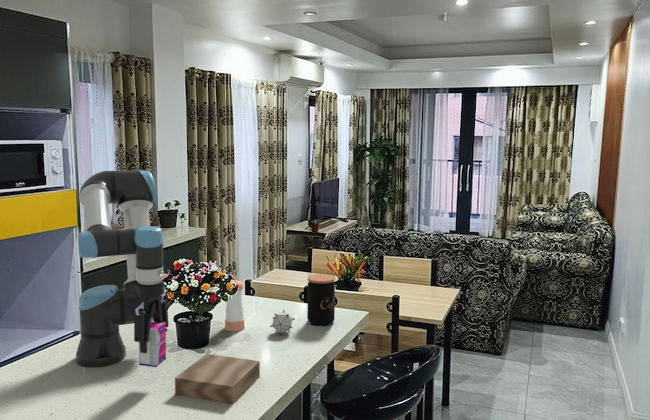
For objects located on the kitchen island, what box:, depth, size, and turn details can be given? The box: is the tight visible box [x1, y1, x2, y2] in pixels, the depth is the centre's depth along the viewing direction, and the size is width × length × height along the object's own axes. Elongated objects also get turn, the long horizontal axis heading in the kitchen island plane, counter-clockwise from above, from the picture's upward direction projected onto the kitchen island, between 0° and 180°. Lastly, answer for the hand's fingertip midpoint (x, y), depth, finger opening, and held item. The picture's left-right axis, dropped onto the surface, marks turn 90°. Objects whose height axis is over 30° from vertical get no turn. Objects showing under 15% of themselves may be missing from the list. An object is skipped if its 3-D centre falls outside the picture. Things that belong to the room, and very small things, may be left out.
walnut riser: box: [174, 353, 261, 405], centre depth 161 cm, size 18×18×5 cm
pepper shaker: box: [224, 278, 245, 332], centre depth 208 cm, size 7×7×19 cm
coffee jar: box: [306, 273, 336, 327], centre depth 216 cm, size 11×11×18 cm
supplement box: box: [138, 321, 167, 368], centre depth 160 cm, size 6×6×12 cm
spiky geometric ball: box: [269, 309, 295, 336], centre depth 204 cm, size 9×8×10 cm
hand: (152, 357), depth 160 cm, fingers closed on supplement box, 6 cm apart
